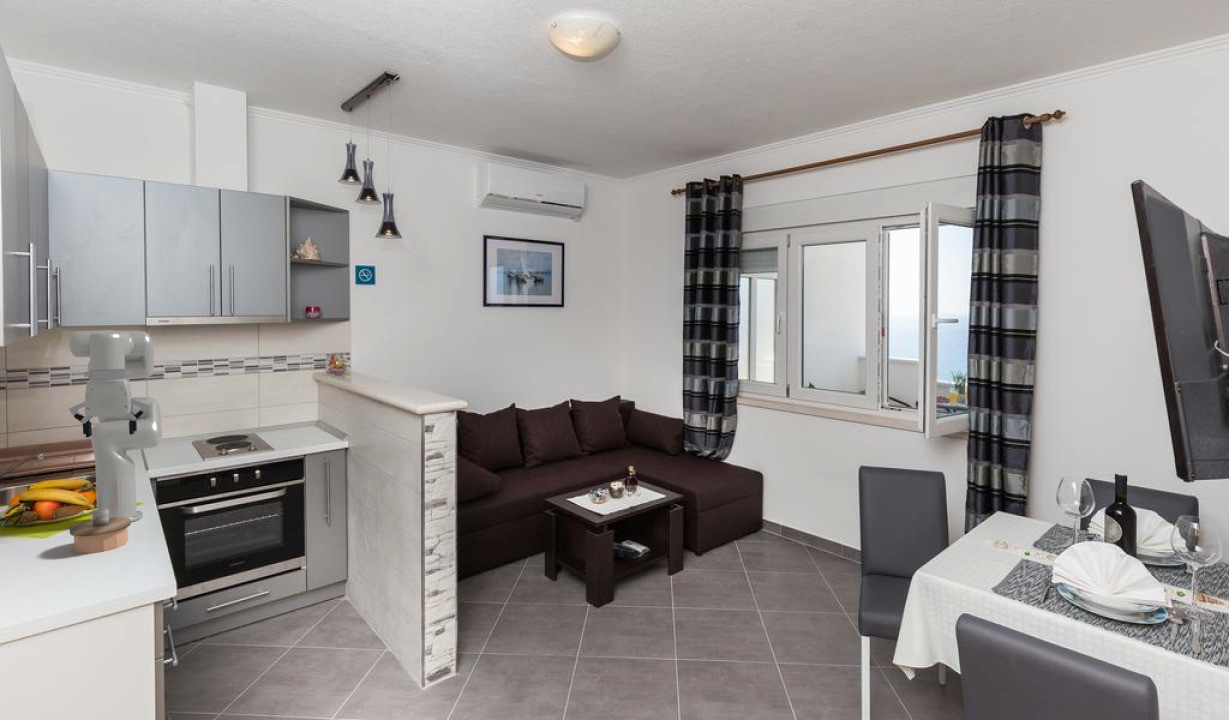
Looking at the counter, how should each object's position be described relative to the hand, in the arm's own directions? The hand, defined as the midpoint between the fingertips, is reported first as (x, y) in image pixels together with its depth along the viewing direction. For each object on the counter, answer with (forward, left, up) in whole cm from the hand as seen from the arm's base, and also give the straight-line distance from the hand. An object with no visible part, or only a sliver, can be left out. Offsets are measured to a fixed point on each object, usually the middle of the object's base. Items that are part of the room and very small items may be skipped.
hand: (110, 435), depth 172 cm
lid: (+5, -2, -25) cm, 26 cm away
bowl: (+5, -2, -30) cm, 31 cm away
